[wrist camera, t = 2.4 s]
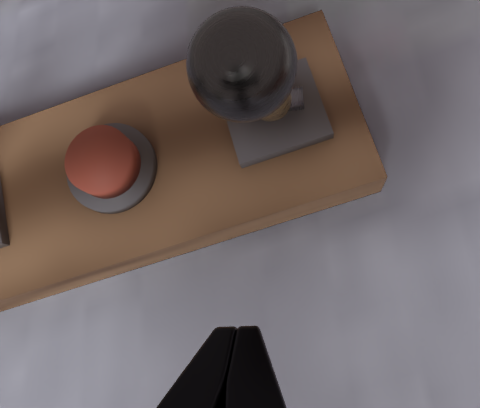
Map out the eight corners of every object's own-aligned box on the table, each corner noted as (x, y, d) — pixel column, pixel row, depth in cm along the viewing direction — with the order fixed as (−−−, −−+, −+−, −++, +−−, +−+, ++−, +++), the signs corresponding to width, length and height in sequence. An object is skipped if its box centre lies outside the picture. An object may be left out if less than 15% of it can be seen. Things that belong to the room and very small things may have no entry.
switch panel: (380, 191, 23) (393, 164, 18) (-54, 328, 25) (-128, 331, 21) (322, 38, 25) (321, -16, 21) (-69, 177, 27) (-138, 153, 23)
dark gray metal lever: (305, 130, 21) (300, 112, 10) (244, 136, 21) (178, 125, 11) (301, 66, 20) (290, -20, 10) (239, 74, 21) (165, 0, 10)
